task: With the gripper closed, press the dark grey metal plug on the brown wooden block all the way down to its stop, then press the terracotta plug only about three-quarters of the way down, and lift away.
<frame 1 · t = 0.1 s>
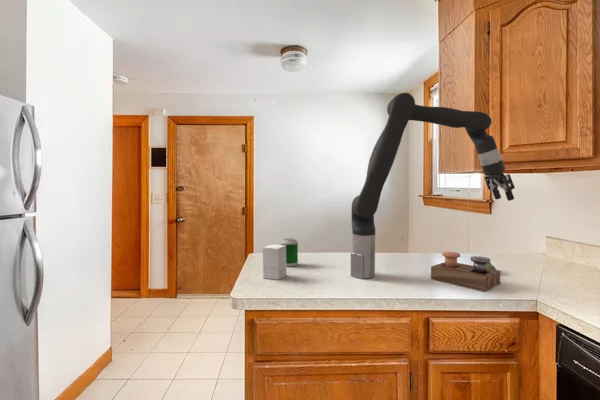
hand: (504, 199, 131), 31 cm above the worktop, tool tilted 20°, fingers open, 8 cm apart
grey plug: (480, 265, 121), point 7 cm above the worktop, slide at 0.0 cm
brown wooden block: (464, 281, 126), on the worktop
soda can: (289, 265, 151), on the worktop
terracotta plug: (450, 260, 130), point 7 cm above the worktop, slide at 0.0 cm
pear: (485, 273, 138), on the worktop
supplement box: (274, 277, 132), on the worktop
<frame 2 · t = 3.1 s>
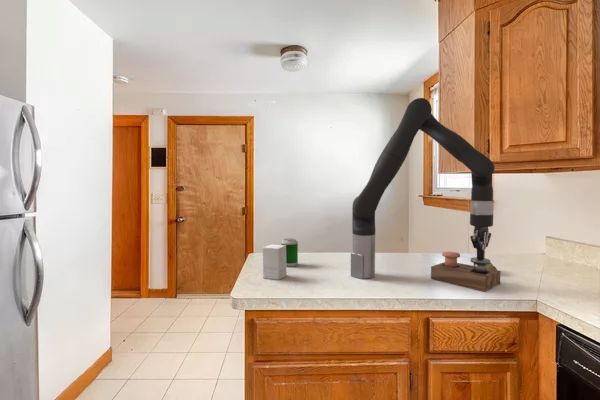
hand: (480, 259, 121), 10 cm above the worktop, tool pointing down, fingers closed
grey plug: (480, 266, 121), point 7 cm above the worktop, slide at 0.4 cm, touching gripper
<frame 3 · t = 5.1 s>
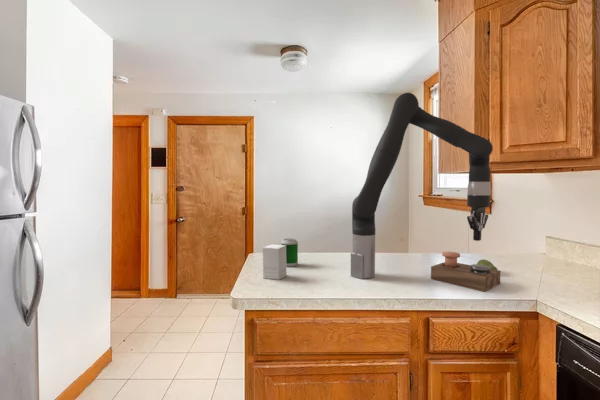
hand: (477, 240, 121), 17 cm above the worktop, tool pointing down, fingers closed
grey plug: (479, 273, 121), point 4 cm above the worktop, slide at 3.1 cm
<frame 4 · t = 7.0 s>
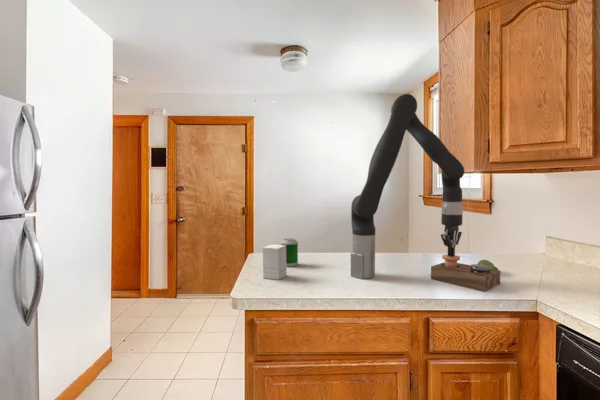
hand: (451, 256, 129), 9 cm above the worktop, tool pointing down, fingers closed
terracotta plug: (450, 263, 130), point 6 cm above the worktop, slide at 1.2 cm, touching gripper
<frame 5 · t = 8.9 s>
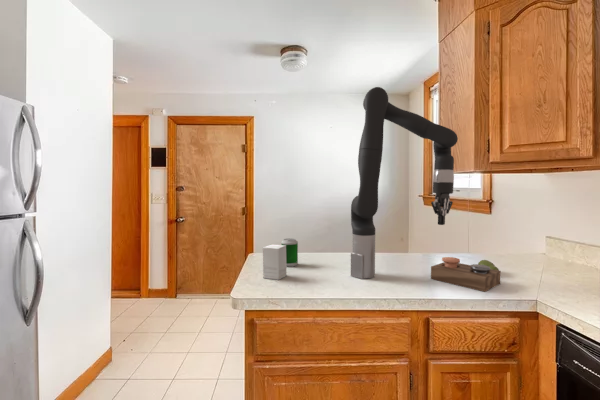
hand: (441, 224, 130), 21 cm above the worktop, tool pointing down, fingers closed
terracotta plug: (450, 265, 130), point 5 cm above the worktop, slide at 2.2 cm
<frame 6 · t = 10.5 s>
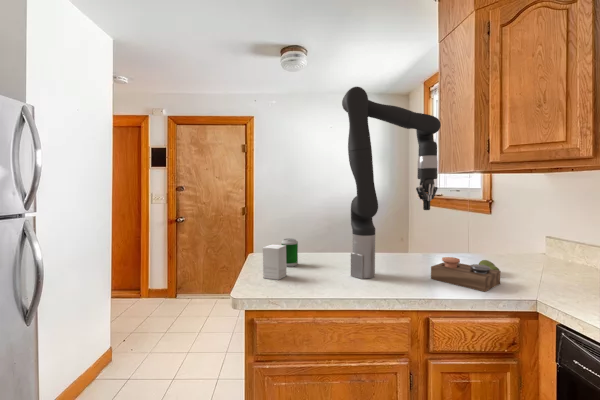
hand: (426, 210, 132), 27 cm above the worktop, tool pointing down, fingers closed
at the end: grey plug slide at 3.1 cm; terracotta plug slide at 2.2 cm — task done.
